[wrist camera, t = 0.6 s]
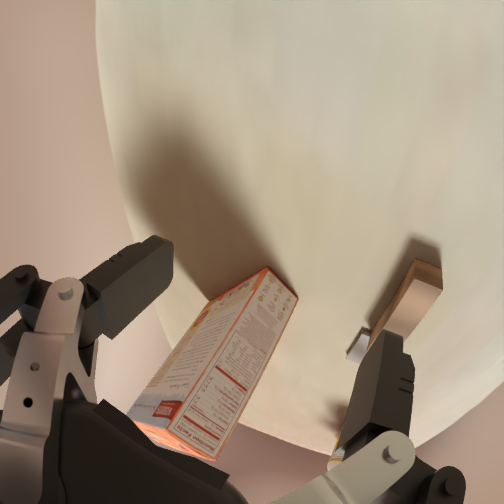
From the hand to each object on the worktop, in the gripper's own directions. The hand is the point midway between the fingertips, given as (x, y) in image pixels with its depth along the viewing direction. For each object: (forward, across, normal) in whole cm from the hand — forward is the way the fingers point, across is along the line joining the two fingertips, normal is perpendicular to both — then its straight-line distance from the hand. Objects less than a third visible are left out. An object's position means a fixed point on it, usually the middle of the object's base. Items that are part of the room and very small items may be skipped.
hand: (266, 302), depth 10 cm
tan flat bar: (+20, -10, +14) cm, 26 cm away
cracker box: (+21, +6, +20) cm, 29 cm away
